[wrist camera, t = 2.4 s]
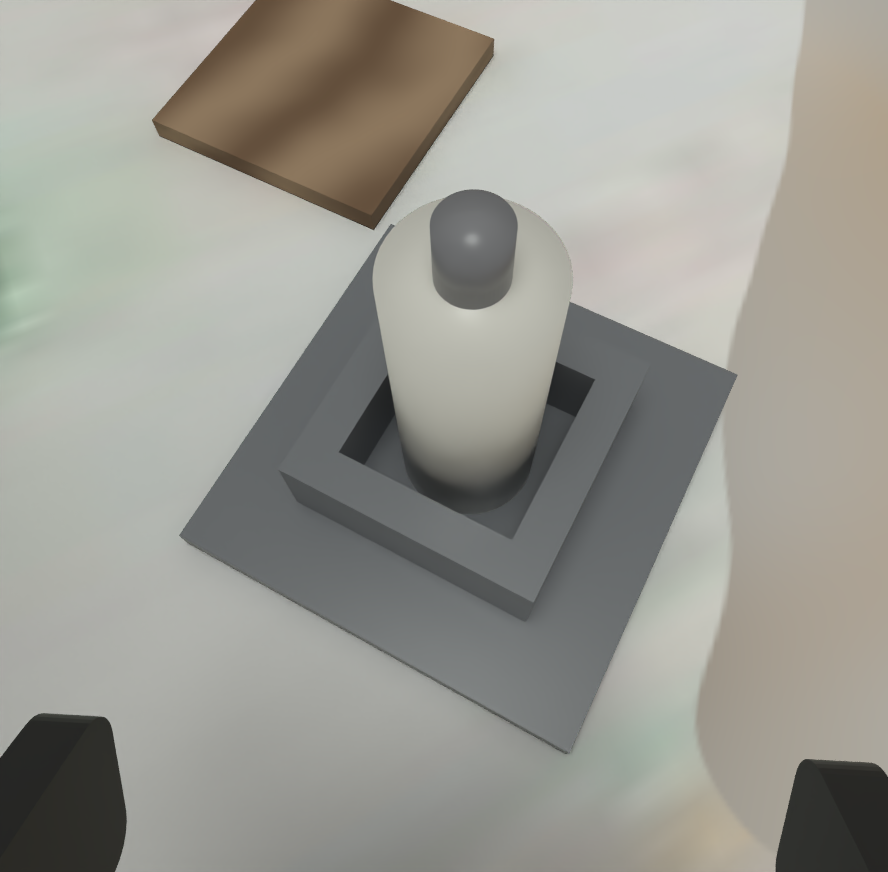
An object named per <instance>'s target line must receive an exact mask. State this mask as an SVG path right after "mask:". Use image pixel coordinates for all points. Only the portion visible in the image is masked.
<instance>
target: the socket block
mask: <svg viewBox="0 0 888 872" xmlns="http://www.w3.org/2000/svg"><path fill="white" fill-rule="evenodd" d="M393 227H394V225H392V224H391V225H390V226H389V228H388V229H387V231H386V232H385V234H384V235H383V236H382V238H381V239H380V241H379V242H378V244H377V245H376V247H375V248H374V250H373V251H372V253H371V254H370V256H369V257H368V259H367V260H366V261H365V263H364V264H363V266H362V267H361V269H360V270H359V272H358V273H357V275H356V276H355V278H354V279H353V281H352V282H351V284H350V285H349V286H348V288H347V289H346V291H345V292H344V294H343V295H342V297H341V298H340V300H339V301H338V303H337V304H336V306H335V307H334V309H333V310H332V311H331V313H330V314H329V316H328V317H327V319H326V320H325V322H324V323H323V325H322V326H321V328H320V329H319V331H318V332H317V334H316V335H315V336H314V338H313V339H312V341H311V342H310V344H309V345H308V347H307V348H306V350H305V351H304V353H303V354H302V356H301V357H300V359H299V360H298V361H297V363H296V364H295V366H294V367H293V369H292V370H291V372H290V373H289V375H288V376H287V378H286V379H285V381H284V382H283V384H282V385H281V386H280V388H279V389H278V391H277V392H276V394H275V395H274V397H273V398H272V400H271V401H270V403H269V404H268V406H267V407H266V409H265V410H264V411H263V413H262V414H261V416H260V417H259V419H258V420H257V422H256V423H255V425H254V426H253V428H252V429H251V431H250V432H249V434H248V435H247V436H246V438H245V439H244V441H243V442H242V444H241V445H240V447H239V448H238V450H237V451H236V453H235V454H234V456H233V457H232V459H231V460H230V462H229V463H228V464H227V466H226V467H225V469H224V470H223V472H222V473H221V475H220V476H219V478H218V479H217V481H216V482H215V484H214V485H213V487H212V488H211V489H210V491H209V492H208V494H207V495H206V497H205V498H204V500H203V501H202V503H201V504H200V506H199V507H198V509H197V510H196V512H195V513H194V514H193V516H192V517H191V519H190V520H189V522H188V523H187V525H186V526H185V528H184V529H183V531H182V532H181V534H180V535H179V536H180V537H181V538H183V539H184V540H185V541H186V542H187V543H189V544H191V545H192V546H194V547H196V548H198V549H200V550H201V551H203V552H205V553H207V554H209V555H210V556H212V557H214V558H216V559H218V560H219V561H221V562H223V563H225V564H227V565H228V566H230V567H232V568H234V569H236V570H237V571H239V572H241V573H243V574H244V575H246V576H248V577H250V578H252V579H253V580H255V581H257V582H259V583H261V584H262V585H264V586H266V587H268V588H270V589H271V590H273V591H275V592H277V593H279V594H280V595H282V596H284V597H286V598H288V599H289V600H291V601H293V602H295V603H296V604H298V605H300V606H302V607H304V608H305V609H307V610H309V611H311V612H313V613H314V614H316V615H318V616H320V617H322V618H323V619H325V620H327V621H329V622H331V623H332V624H334V625H336V626H338V627H340V628H341V629H343V630H345V631H347V632H348V633H350V634H352V635H354V636H356V637H357V638H359V639H361V640H363V641H365V642H366V643H368V644H370V645H372V646H374V647H375V648H377V649H379V650H381V651H383V652H384V653H386V654H388V655H390V656H392V657H393V658H395V659H397V660H399V661H400V662H402V663H404V664H406V665H408V666H409V667H411V668H413V669H415V670H417V671H418V672H420V673H422V674H424V675H426V676H427V677H429V678H431V679H433V680H435V681H436V682H438V683H440V684H442V685H444V686H445V687H447V688H449V689H451V690H452V691H454V692H456V693H458V694H460V695H461V696H463V697H465V698H467V699H469V700H470V701H472V702H474V703H476V704H478V705H479V706H481V707H483V708H485V709H487V710H488V711H490V712H492V713H494V714H496V715H497V716H499V717H501V718H503V719H504V720H506V721H508V722H510V723H512V724H513V725H515V726H517V727H519V728H521V729H522V730H524V731H526V732H528V733H530V734H531V735H533V736H535V737H537V738H539V739H540V740H542V741H544V742H546V743H548V744H549V745H551V746H553V747H555V748H556V749H558V750H560V751H562V752H564V753H565V754H567V753H570V751H571V749H572V746H573V744H574V742H575V740H576V737H577V735H578V733H579V731H580V728H581V726H582V724H583V722H584V719H585V717H586V715H587V713H588V710H589V708H590V706H591V704H592V701H593V699H594V697H595V695H596V692H597V690H598V688H599V686H600V683H601V681H602V679H603V677H604V674H605V672H606V670H607V668H608V665H609V663H610V661H611V659H612V656H613V654H614V652H615V650H616V647H617V645H618V643H619V641H620V638H621V636H622V634H623V632H624V629H625V627H626V625H627V623H628V620H629V618H630V616H631V614H632V611H633V609H634V607H635V605H636V602H637V600H638V598H639V596H640V593H641V591H642V589H643V587H644V584H645V582H646V580H647V578H648V575H649V573H650V571H651V569H652V566H653V564H654V562H655V560H656V557H657V555H658V553H659V551H660V548H661V546H662V544H663V542H664V539H665V537H666V535H667V533H668V530H669V528H670V526H671V524H672V521H673V519H674V517H675V515H676V512H677V510H678V508H679V506H680V503H681V501H682V499H683V497H684V494H685V492H686V490H687V488H688V485H689V483H690V481H691V479H692V476H693V474H694V472H695V470H696V467H697V465H698V463H699V461H700V458H701V456H702V454H703V452H704V449H705V447H706V445H707V443H708V440H709V438H710V436H711V434H712V431H713V429H714V427H715V425H716V422H717V420H718V418H719V416H720V413H721V411H722V409H723V407H724V404H725V402H726V400H727V398H728V395H729V393H730V391H731V389H732V386H733V384H734V382H735V380H736V377H737V374H734V373H732V372H730V371H728V370H726V369H723V368H721V367H719V366H716V365H714V364H712V363H709V362H707V361H705V360H703V359H700V358H698V357H696V356H693V355H691V354H689V353H686V352H684V351H682V350H680V349H677V348H675V347H673V346H670V345H668V344H666V343H663V342H661V341H659V340H657V339H654V338H652V337H650V336H647V335H645V334H643V333H640V332H638V331H636V330H634V329H631V328H629V327H627V326H624V325H622V324H620V323H617V322H615V321H613V320H611V319H608V318H606V317H604V316H601V315H599V314H597V313H594V312H592V311H590V310H588V309H585V308H583V307H581V306H578V305H576V304H574V303H571V302H570V303H569V307H568V311H567V316H566V320H565V324H564V328H563V333H562V337H561V341H560V346H559V350H558V354H557V359H556V363H555V367H554V372H553V376H552V380H551V385H550V389H549V393H548V397H547V402H546V406H545V410H544V415H543V419H542V423H541V428H540V432H539V436H538V441H537V445H536V449H535V454H534V458H533V462H532V466H531V470H530V473H529V476H528V478H527V480H526V482H525V484H524V485H523V487H522V488H521V490H520V491H519V492H518V493H517V494H516V495H515V496H514V497H513V498H512V499H511V500H510V501H508V502H507V503H505V504H504V505H502V506H500V507H498V508H496V509H494V510H491V511H488V512H484V513H479V514H459V513H457V512H455V511H453V510H452V509H450V508H448V507H446V506H444V505H442V504H440V503H438V502H436V501H434V500H432V499H430V498H428V497H426V496H424V495H422V494H420V493H419V492H418V491H417V490H416V489H415V487H414V486H413V485H412V483H411V481H410V479H409V477H408V474H407V472H406V468H405V464H404V459H403V453H402V448H401V442H400V436H399V431H398V425H397V420H396V414H395V409H394V403H393V397H392V392H391V386H390V381H389V375H388V370H387V364H386V358H385V353H384V347H383V342H382V336H381V331H380V325H379V319H378V314H377V308H376V303H375V297H374V292H373V280H372V278H373V267H374V263H375V259H376V256H377V253H378V251H379V248H380V246H381V244H382V243H383V241H384V239H385V237H386V236H387V235H388V234H389V232H390V231H391V230H392V228H393Z"/></svg>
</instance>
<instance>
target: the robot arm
mask: <svg viewBox="0 0 888 872" xmlns="http://www.w3.org/2000/svg"><path fill="white" fill-rule="evenodd" d="M126 823H127V817H126V808H125V802H124V796H123V790H122V784H121V778H120V773H119V767H118V761H117V755H116V749H115V743H114V738H113V732H112V728H111V725H110V722H109V721H108V720H107V719H106V718H105V717H98V716H81V715H63V714H46V713H42V714H38V715H36V716H34V717H33V718H32V719H31V720H30V721H29V722H28V723H27V724H26V725H25V726H24V728H23V729H22V730H21V732H20V733H19V734H18V736H17V737H16V738H15V739H14V741H13V742H12V743H11V745H10V746H9V747H8V749H7V750H6V751H5V753H4V754H3V755H2V756H1V758H0V872H115V870H116V868H117V865H118V862H119V860H120V856H121V853H122V849H123V845H124V840H125V834H126ZM776 872H888V777H887V775H886V774H885V772H884V771H883V770H882V769H881V768H880V767H879V766H878V765H876V764H873V763H865V762H847V761H829V760H812V759H805V760H803V761H802V762H801V763H800V764H799V766H798V768H797V772H796V775H795V780H794V784H793V788H792V792H791V796H790V801H789V805H788V809H787V813H786V818H785V822H784V826H783V831H782V835H781V839H780V843H779V848H778V852H777V857H776Z"/></svg>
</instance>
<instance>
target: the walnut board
mask: <svg viewBox="0 0 888 872" xmlns="http://www.w3.org/2000/svg"><path fill="white" fill-rule="evenodd" d="M493 50H494V39H493V38H490V37H488V36H485V35H482V34H480V33H477V32H474V31H472V30H469V29H466V28H464V27H461V26H458V25H455V24H453V23H450V22H447V21H445V20H442V19H439V18H437V17H434V16H431V15H429V14H426V13H423V12H420V11H418V10H415V9H412V8H410V7H407V6H404V5H402V4H399V3H396V2H394V1H391V0H256V1H255V2H254V3H253V4H252V5H251V6H250V8H249V9H248V10H247V11H246V12H245V13H244V14H243V16H242V17H241V18H240V19H239V20H238V21H237V23H236V24H235V25H234V26H233V27H232V28H231V29H230V31H229V32H228V33H227V34H226V35H225V36H224V38H223V39H222V40H221V41H220V42H219V43H218V44H217V46H216V47H215V48H214V49H213V50H212V51H211V53H210V54H209V55H208V56H207V57H206V58H205V59H204V61H203V62H202V63H201V64H200V65H199V66H198V68H197V69H196V70H195V71H194V72H193V73H192V74H191V76H190V77H189V78H188V79H187V80H186V81H185V83H184V84H183V85H182V86H181V87H180V88H179V89H178V91H177V92H176V93H175V94H174V95H173V96H172V97H171V99H170V100H169V101H168V102H167V103H166V104H165V106H164V107H163V108H162V109H161V110H160V111H159V112H158V114H157V115H156V116H155V117H154V118H153V119H152V121H153V123H154V125H155V128H156V130H157V132H158V134H159V136H162V137H164V138H166V139H168V140H171V141H173V142H175V143H177V144H180V145H182V146H184V147H187V148H189V149H191V150H193V151H196V152H198V153H200V154H203V155H205V156H207V157H209V158H212V159H214V160H216V161H219V162H221V163H223V164H225V165H228V166H230V167H232V168H234V169H237V170H239V171H241V172H244V173H246V174H248V175H250V176H253V177H255V178H257V179H260V180H262V181H264V182H266V183H269V184H271V185H273V186H275V187H278V188H280V189H282V190H285V191H287V192H289V193H291V194H294V195H296V196H298V197H301V198H303V199H305V200H307V201H310V202H312V203H314V204H317V205H319V206H321V207H323V208H326V209H328V210H330V211H332V212H335V213H337V214H339V215H342V216H344V217H346V218H348V219H351V220H353V221H355V222H358V223H360V224H362V225H364V226H367V227H369V228H371V229H373V230H374V228H375V227H376V225H377V224H378V222H379V221H380V220H381V218H382V217H383V215H384V214H385V212H386V211H387V209H388V208H389V206H390V205H391V204H392V202H393V201H394V199H395V198H396V196H397V195H398V193H399V192H400V190H401V189H402V188H403V186H404V185H405V183H406V182H407V180H408V179H409V177H410V176H411V174H412V173H413V172H414V170H415V169H416V167H417V166H418V164H419V163H420V161H421V160H422V158H423V157H424V156H425V154H426V153H427V151H428V150H429V148H430V147H431V145H432V144H433V142H434V141H435V140H436V138H437V137H438V135H439V134H440V132H441V131H442V129H443V128H444V126H445V125H446V124H447V122H448V121H449V119H450V118H451V116H452V115H453V113H454V112H455V110H456V109H457V108H458V106H459V105H460V103H461V102H462V100H463V99H464V97H465V96H466V94H467V93H468V92H469V90H470V89H471V87H472V86H473V84H474V83H475V81H476V80H477V78H478V77H479V76H480V74H481V73H482V71H483V70H484V68H485V67H486V65H487V64H488V62H489V61H490V60H491V58H492V57H493Z"/></svg>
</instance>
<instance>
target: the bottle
mask: <svg viewBox="0 0 888 872" xmlns="http://www.w3.org/2000/svg"><path fill="white" fill-rule="evenodd" d="M372 280H373V292H374V297H375V303H376V308H377V314H378V319H379V325H380V331H381V336H382V342H383V347H384V353H385V358H386V364H387V370H388V375H389V381H390V386H391V392H392V397H393V403H394V409H395V414H396V420H397V425H398V431H399V436H400V442H401V448H402V453H403V459H404V464H405V468H406V472H407V474H408V477H409V479H410V481H411V483H412V485H413V486H414V487H415V489H416V490H417V491H418V492H419V493H420V494H422V495H424V496H426V497H428V498H430V499H432V500H434V501H436V502H438V503H440V504H442V505H444V506H446V507H448V508H450V509H452V510H453V511H455V512H457V513H459V514H479V513H484V512H488V511H491V510H494V509H496V508H498V507H500V506H502V505H504V504H505V503H507V502H508V501H510V500H511V499H512V498H513V497H514V496H515V495H516V494H517V493H518V492H519V491H520V490H521V488H522V487H523V485H524V484H525V482H526V480H527V478H528V476H529V473H530V470H531V466H532V462H533V458H534V454H535V449H536V445H537V441H538V436H539V432H540V428H541V423H542V419H543V415H544V410H545V406H546V402H547V397H548V393H549V389H550V385H551V380H552V376H553V372H554V367H555V363H556V359H557V354H558V350H559V346H560V341H561V337H562V333H563V328H564V324H565V320H566V316H567V311H568V307H569V303H570V298H571V294H572V286H573V271H572V266H571V261H570V258H569V255H568V252H567V250H566V248H565V246H564V244H563V242H562V240H561V239H560V237H559V236H558V235H557V233H556V232H555V231H554V229H553V228H552V227H551V226H550V225H549V224H548V223H547V222H546V221H544V220H543V219H542V218H541V217H540V216H538V215H537V214H535V213H534V212H532V211H531V210H529V209H528V208H525V207H523V206H521V205H519V204H517V203H514V202H512V201H509V200H506V199H503V198H501V197H500V196H498V195H496V194H494V193H491V192H488V191H484V190H464V191H459V192H456V193H454V194H451V195H449V196H448V197H446V198H443V199H440V200H436V201H433V202H431V203H428V204H426V205H424V206H422V207H420V208H418V209H416V210H415V211H413V212H411V213H410V214H408V215H407V216H406V217H404V218H403V219H402V220H401V221H400V222H399V223H397V224H396V225H395V226H394V227H393V228H392V230H391V231H390V232H389V234H388V235H387V236H386V237H385V239H384V241H383V243H382V244H381V246H380V248H379V251H378V253H377V256H376V259H375V263H374V267H373V278H372Z"/></svg>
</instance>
